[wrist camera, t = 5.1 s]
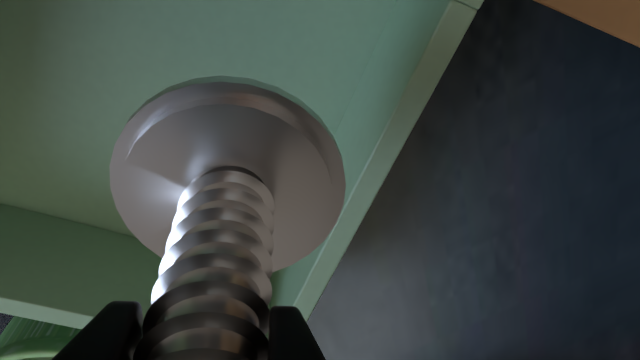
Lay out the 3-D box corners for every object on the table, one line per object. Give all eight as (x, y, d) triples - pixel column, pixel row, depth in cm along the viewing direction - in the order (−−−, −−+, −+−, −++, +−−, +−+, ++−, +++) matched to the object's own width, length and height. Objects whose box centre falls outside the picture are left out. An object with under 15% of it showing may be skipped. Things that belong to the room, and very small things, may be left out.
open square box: (281, 274, 25) (281, 370, 21) (-61, 189, 21) (-151, 282, 17) (442, -59, 17) (496, -21, 13) (-52, -283, 14) (-214, -336, 9)
